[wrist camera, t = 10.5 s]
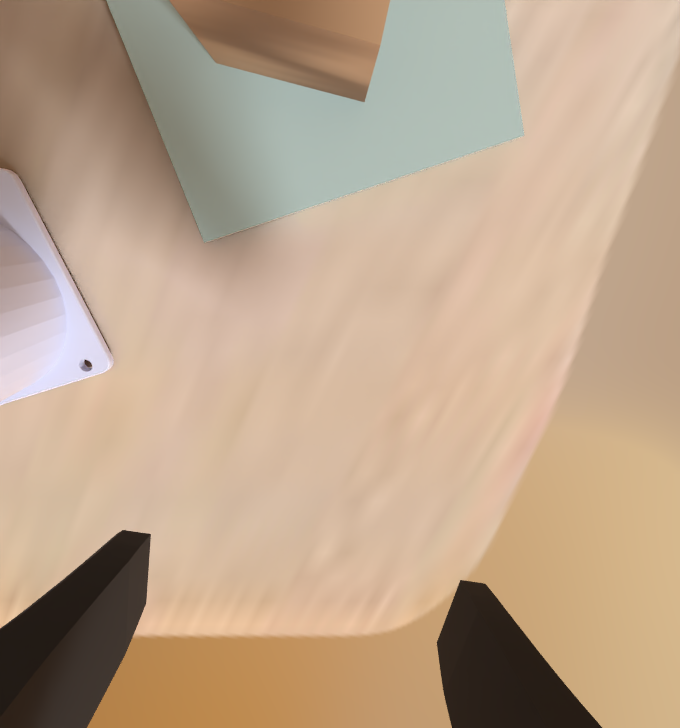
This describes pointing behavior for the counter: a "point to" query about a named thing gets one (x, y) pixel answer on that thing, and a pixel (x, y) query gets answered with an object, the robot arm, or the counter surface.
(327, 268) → the counter surface
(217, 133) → the ceramic tile
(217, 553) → the counter surface
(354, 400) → the counter surface
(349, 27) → the walnut cube
